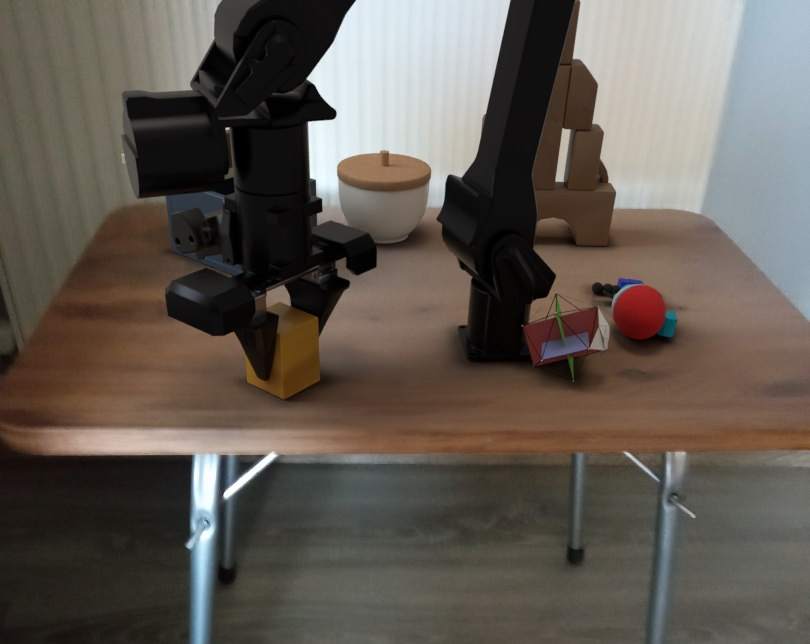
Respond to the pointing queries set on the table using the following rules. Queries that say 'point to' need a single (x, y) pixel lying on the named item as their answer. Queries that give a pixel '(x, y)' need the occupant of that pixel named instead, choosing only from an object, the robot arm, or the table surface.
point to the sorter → (207, 205)
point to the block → (291, 353)
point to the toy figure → (638, 309)
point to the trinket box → (384, 194)
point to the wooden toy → (574, 153)
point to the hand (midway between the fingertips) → (283, 369)
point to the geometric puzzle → (567, 336)
